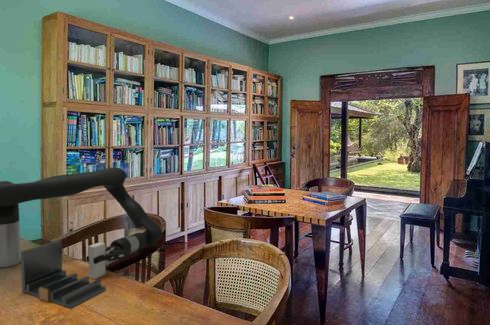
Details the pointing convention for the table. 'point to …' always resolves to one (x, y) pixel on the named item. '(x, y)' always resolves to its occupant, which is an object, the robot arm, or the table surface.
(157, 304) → the table surface
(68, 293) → the rack
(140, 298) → the table surface
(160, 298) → the table surface
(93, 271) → the light grey block
